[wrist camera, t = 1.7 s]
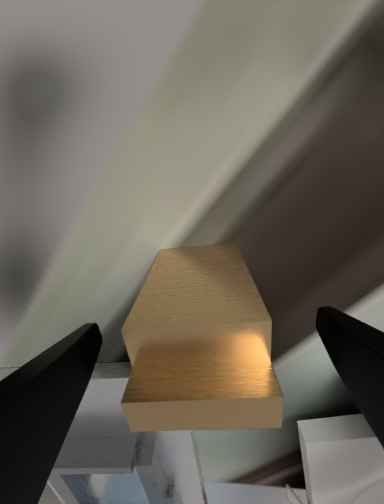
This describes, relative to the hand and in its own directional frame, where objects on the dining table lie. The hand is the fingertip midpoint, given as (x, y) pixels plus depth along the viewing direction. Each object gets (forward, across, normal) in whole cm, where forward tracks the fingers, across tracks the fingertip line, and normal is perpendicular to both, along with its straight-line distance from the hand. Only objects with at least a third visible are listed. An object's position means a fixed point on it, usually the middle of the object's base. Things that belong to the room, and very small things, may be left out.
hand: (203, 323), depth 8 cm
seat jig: (+4, +9, +17) cm, 20 cm away
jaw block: (+4, 0, 0) cm, 4 cm away
